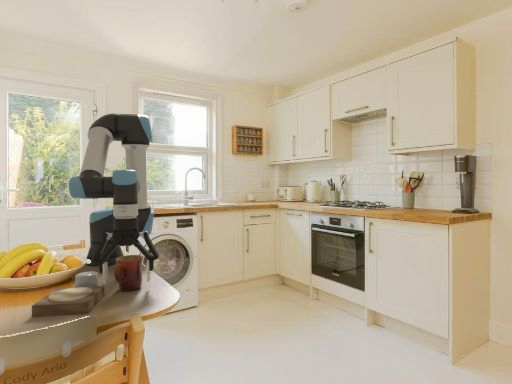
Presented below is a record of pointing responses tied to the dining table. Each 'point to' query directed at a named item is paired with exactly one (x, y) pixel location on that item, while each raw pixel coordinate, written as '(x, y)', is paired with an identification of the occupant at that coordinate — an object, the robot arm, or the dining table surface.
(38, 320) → the dining table surface
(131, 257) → the mug
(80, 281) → the grey rounded block
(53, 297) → the base slab
